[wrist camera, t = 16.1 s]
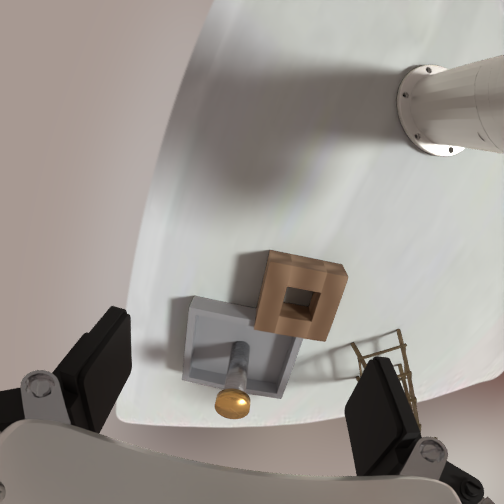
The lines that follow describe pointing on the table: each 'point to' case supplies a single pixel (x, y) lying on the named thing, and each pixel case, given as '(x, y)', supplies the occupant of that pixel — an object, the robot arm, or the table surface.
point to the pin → (235, 384)
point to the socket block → (302, 277)
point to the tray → (220, 342)
